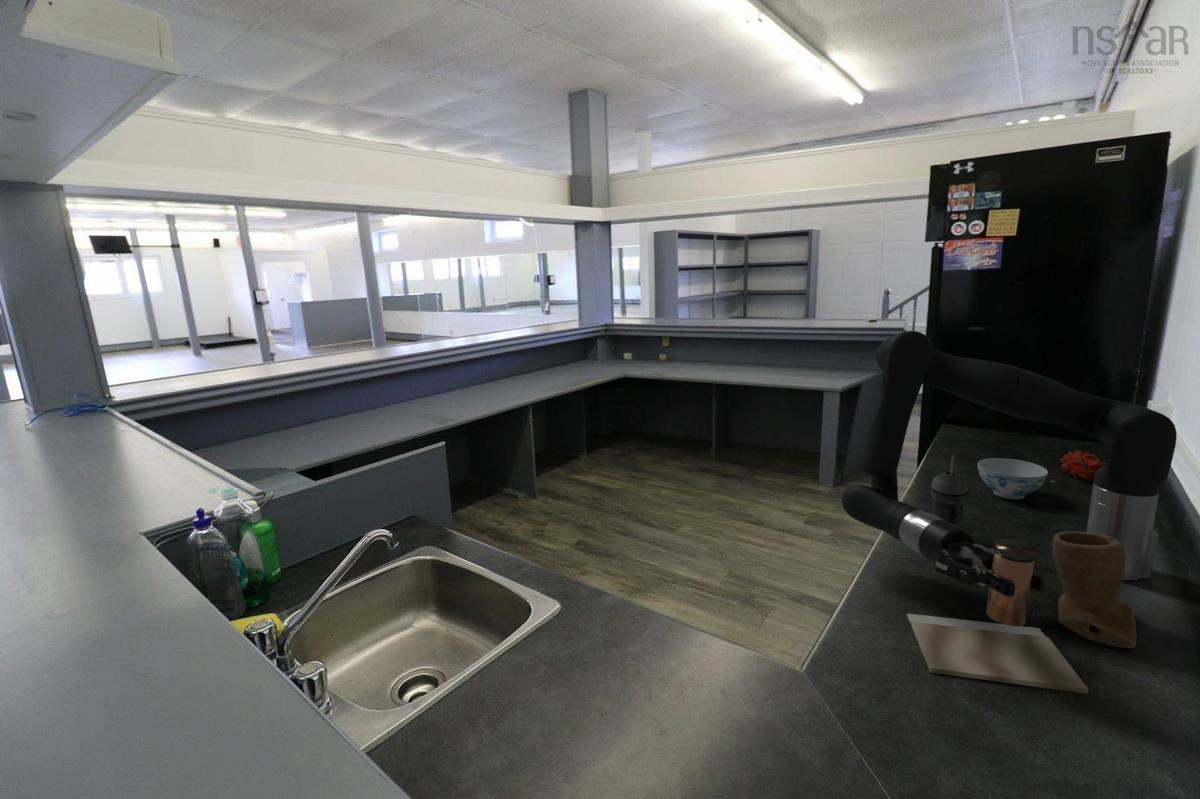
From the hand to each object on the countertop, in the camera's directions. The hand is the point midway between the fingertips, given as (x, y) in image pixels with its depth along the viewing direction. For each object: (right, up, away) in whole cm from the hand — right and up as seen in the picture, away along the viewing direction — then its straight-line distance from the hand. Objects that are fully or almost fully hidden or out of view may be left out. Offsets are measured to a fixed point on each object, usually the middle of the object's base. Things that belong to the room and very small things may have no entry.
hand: (1027, 587), depth 83 cm
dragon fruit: (+73, +6, +73) cm, 103 cm away
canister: (0, -6, +4) cm, 7 cm away
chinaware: (+45, +3, +65) cm, 79 cm away
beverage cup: (+15, -3, +44) cm, 46 cm away
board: (-2, -12, +5) cm, 14 cm away
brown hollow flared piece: (+20, -10, +12) cm, 25 cm away
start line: (0, -11, +12) cm, 16 cm away
